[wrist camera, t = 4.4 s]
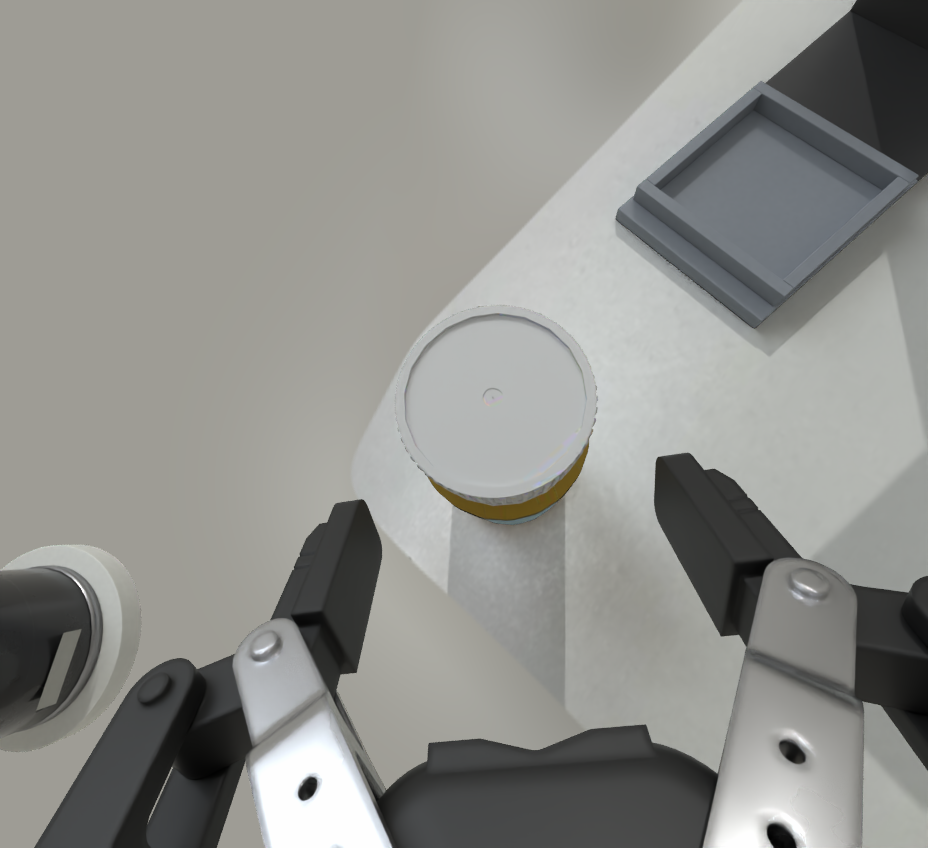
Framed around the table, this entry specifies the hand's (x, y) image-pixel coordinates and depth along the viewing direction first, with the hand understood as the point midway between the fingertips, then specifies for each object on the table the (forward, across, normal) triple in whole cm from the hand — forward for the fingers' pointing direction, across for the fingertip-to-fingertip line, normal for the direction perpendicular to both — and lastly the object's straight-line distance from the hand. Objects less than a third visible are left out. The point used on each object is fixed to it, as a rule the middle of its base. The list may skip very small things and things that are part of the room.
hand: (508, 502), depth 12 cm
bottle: (+13, 0, +9) cm, 16 cm away
